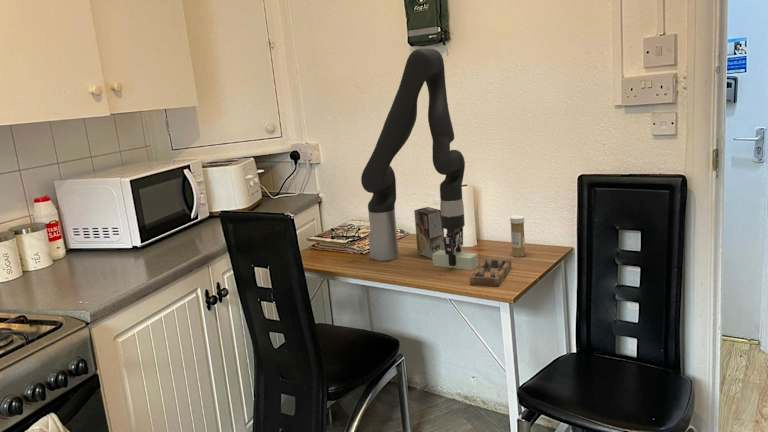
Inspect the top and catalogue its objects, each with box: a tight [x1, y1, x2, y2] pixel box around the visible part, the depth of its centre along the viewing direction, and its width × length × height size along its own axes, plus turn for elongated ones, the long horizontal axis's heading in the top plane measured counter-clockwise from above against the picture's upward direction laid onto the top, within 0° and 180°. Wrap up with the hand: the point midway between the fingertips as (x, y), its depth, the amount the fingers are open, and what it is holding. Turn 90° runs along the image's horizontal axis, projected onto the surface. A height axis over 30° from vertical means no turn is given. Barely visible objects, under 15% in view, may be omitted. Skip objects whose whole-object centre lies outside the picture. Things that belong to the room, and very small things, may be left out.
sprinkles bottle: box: [509, 214, 526, 258], centre depth 207 cm, size 5×5×13 cm
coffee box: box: [414, 206, 445, 259], centre depth 216 cm, size 9×6×16 cm
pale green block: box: [431, 250, 479, 271], centre depth 203 cm, size 14×5×4 cm, turn 55°
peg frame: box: [469, 257, 512, 288], centre depth 191 cm, size 18×9×4 cm, turn 157°
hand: (455, 262), depth 203 cm, fingers closed on pale green block, 5 cm apart
